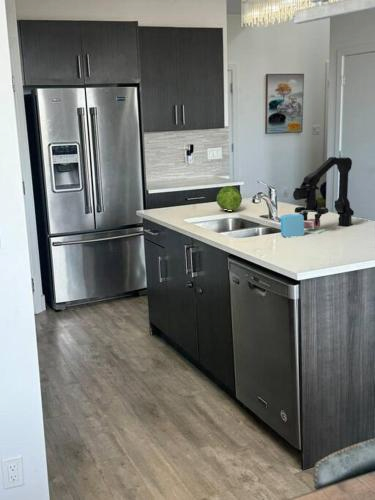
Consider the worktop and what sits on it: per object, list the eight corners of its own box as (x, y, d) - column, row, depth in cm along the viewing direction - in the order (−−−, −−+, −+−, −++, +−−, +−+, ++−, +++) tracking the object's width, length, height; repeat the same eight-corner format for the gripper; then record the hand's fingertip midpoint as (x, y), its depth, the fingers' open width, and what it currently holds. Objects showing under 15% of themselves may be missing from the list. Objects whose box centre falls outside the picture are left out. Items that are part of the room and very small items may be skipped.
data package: (300, 234, 337) (300, 213, 334) (304, 235, 333) (303, 214, 330) (281, 236, 334) (280, 215, 332) (284, 238, 330) (283, 216, 327)
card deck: (320, 226, 344) (320, 219, 343) (312, 229, 338) (312, 222, 337) (310, 225, 348) (310, 218, 347) (303, 228, 342) (302, 221, 341)
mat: (327, 229, 343) (327, 228, 343) (317, 233, 334) (317, 232, 334) (306, 228, 352) (306, 227, 352) (295, 232, 343) (295, 231, 343)
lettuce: (233, 207, 447) (232, 182, 443) (246, 211, 425) (245, 185, 421) (211, 210, 441) (209, 185, 437) (223, 214, 420) (221, 188, 416)
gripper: (332, 196, 339) (333, 223, 342) (303, 195, 351) (304, 221, 354) (323, 199, 331) (323, 227, 334) (293, 198, 343) (294, 225, 346)
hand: (311, 225), depth 343 cm, fingers closed on card deck, 6 cm apart
